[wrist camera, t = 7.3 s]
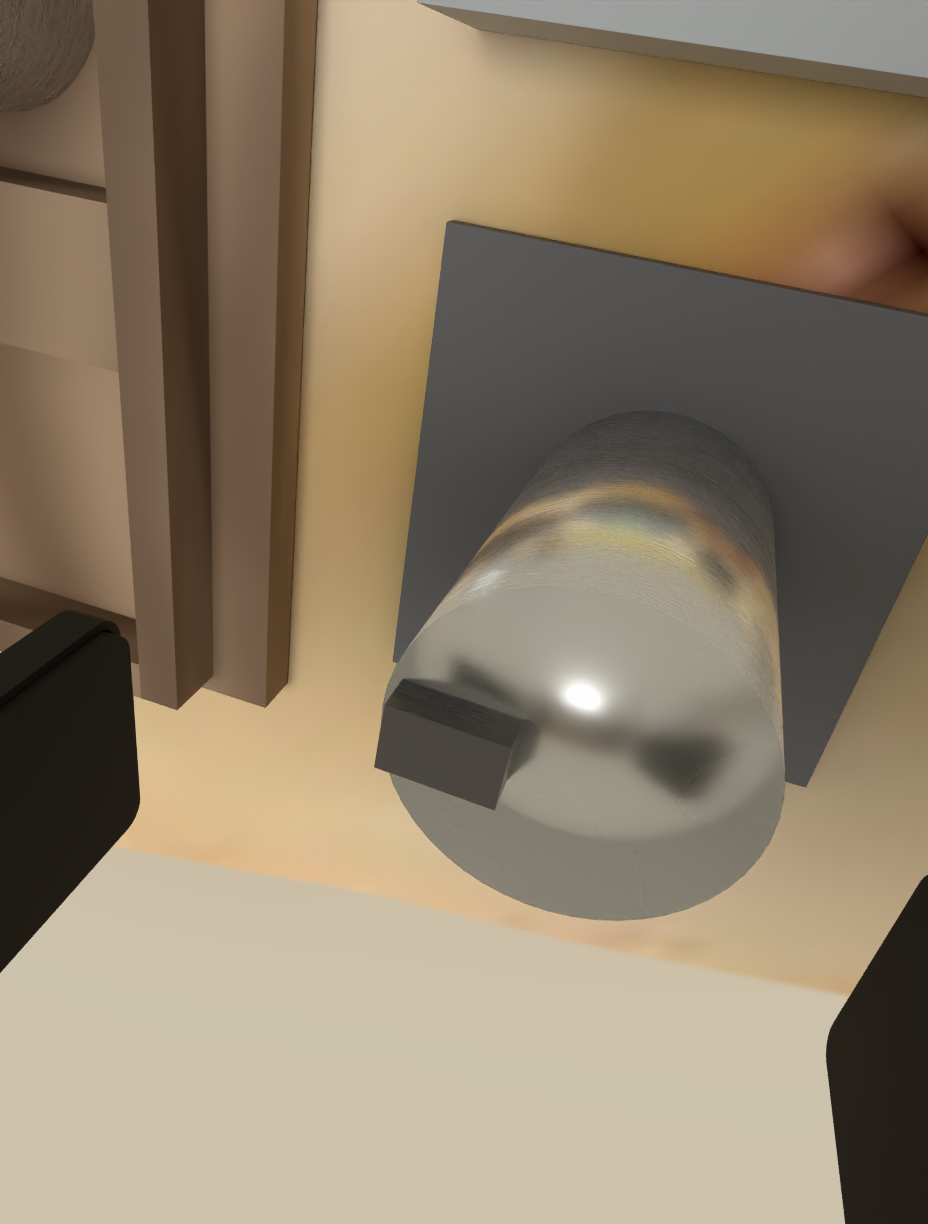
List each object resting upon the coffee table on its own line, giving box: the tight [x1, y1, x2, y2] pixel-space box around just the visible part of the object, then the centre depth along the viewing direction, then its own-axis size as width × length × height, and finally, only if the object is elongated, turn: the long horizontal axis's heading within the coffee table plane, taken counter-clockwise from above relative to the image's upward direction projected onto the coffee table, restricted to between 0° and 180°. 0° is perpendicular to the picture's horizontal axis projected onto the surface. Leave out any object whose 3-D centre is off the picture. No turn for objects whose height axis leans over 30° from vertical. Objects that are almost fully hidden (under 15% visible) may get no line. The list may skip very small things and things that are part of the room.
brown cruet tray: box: [0, 0, 317, 710], centre depth 17 cm, size 12×20×3 cm, turn 171°
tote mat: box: [393, 220, 928, 787], centre depth 17 cm, size 10×10×1 cm
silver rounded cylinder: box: [374, 411, 785, 921], centre depth 13 cm, size 5×5×9 cm
